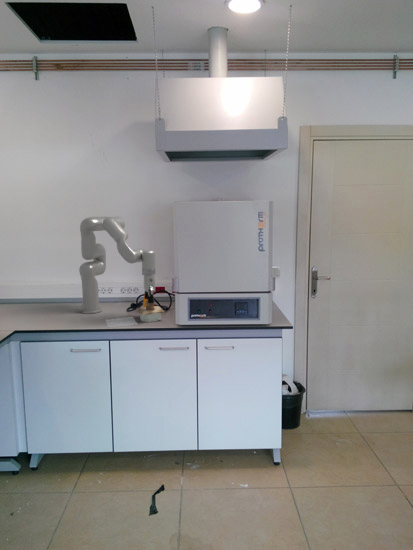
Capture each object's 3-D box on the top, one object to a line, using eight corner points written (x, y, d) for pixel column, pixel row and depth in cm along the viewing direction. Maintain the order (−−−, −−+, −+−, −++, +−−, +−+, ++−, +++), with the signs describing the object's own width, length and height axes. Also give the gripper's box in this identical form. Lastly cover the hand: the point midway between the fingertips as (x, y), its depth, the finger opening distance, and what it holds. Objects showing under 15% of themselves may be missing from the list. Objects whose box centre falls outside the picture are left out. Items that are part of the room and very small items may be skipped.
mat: (108, 328, 208) (108, 327, 208) (105, 320, 223) (105, 319, 223) (137, 325, 213) (137, 324, 213) (132, 317, 228) (132, 316, 228)
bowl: (142, 323, 217) (142, 314, 216) (139, 318, 227) (138, 309, 226) (162, 321, 221) (162, 312, 220) (157, 316, 231) (157, 307, 230)
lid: (140, 315, 214) (140, 305, 213) (136, 309, 227) (136, 299, 226) (164, 312, 219) (164, 302, 218) (158, 307, 231) (158, 297, 230)
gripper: (158, 274, 212) (158, 304, 215) (151, 269, 228) (152, 297, 231) (145, 274, 210) (145, 305, 213) (139, 269, 226) (139, 297, 229)
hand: (149, 300), depth 222 cm, fingers open, 9 cm apart
